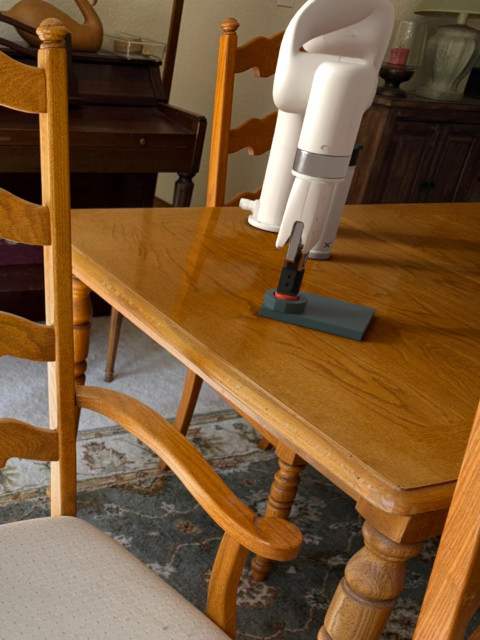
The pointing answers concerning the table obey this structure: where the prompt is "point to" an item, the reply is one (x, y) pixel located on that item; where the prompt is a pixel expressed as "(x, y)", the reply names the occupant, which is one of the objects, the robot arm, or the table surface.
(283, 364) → the table surface
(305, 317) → the grey kitchen scale
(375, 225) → the table surface
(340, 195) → the travel mug
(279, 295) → the button
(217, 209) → the table surface
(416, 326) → the table surface
